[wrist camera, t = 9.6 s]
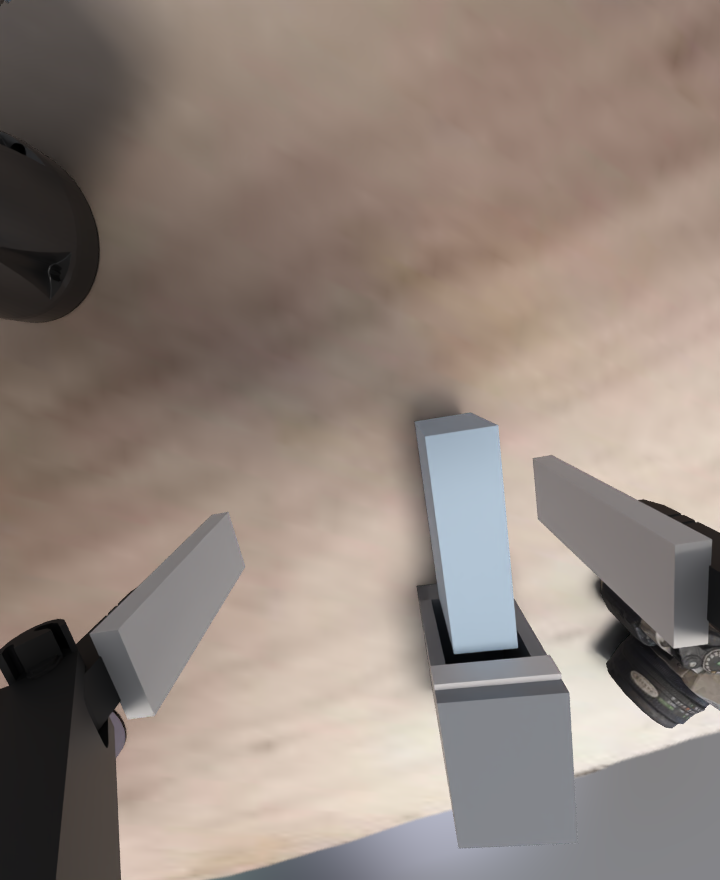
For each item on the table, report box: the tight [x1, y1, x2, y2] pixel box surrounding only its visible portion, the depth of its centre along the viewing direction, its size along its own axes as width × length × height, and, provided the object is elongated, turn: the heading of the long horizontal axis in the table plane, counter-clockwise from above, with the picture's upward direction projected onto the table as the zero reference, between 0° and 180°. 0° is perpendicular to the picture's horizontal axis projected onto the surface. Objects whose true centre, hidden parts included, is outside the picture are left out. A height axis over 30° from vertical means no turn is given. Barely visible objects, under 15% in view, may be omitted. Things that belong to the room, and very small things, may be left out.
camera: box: [600, 580, 720, 728], centre depth 32 cm, size 16×10×10 cm, turn 56°
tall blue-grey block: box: [415, 413, 518, 654], centre depth 28 cm, size 18×5×7 cm, turn 10°
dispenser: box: [417, 584, 578, 848], centre depth 31 cm, size 14×9×13 cm, turn 10°
